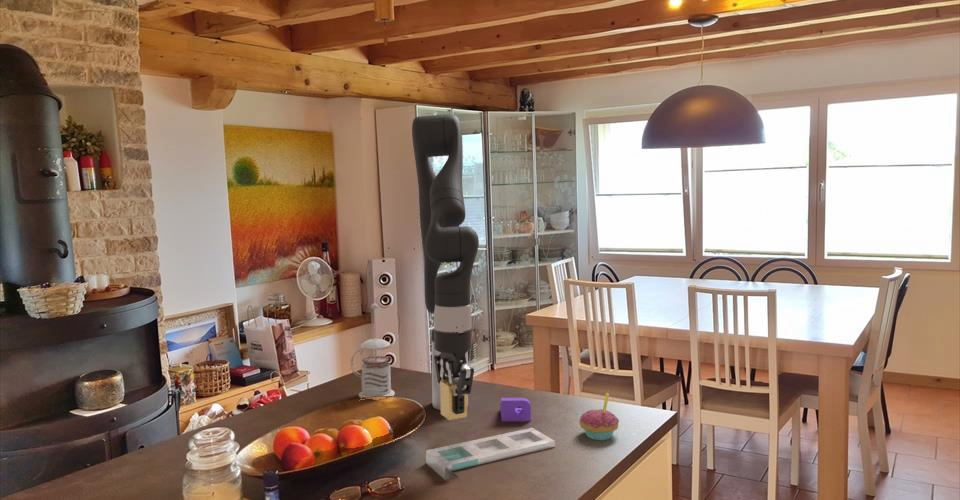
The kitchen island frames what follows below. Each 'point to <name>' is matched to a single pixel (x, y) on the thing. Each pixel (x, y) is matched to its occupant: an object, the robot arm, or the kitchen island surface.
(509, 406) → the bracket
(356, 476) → the kitchen island surface
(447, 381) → the brass block
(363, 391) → the french press
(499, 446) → the white compartment tray
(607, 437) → the cupcake
